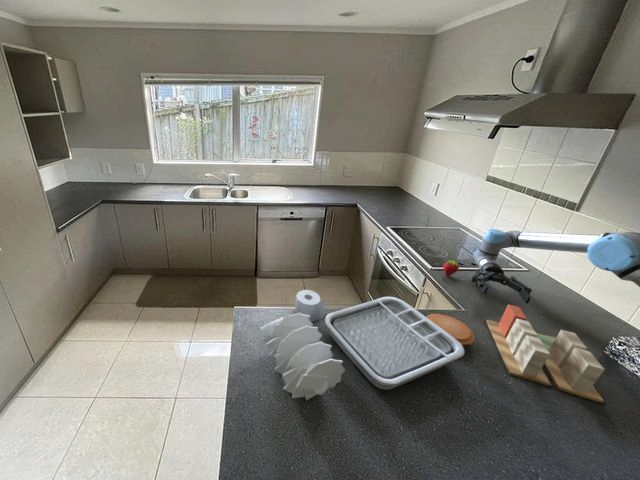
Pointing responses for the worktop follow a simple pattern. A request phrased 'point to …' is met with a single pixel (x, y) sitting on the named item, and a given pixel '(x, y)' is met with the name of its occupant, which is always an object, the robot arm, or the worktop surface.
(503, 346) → the wooden base with cubes
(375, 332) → the dish rack
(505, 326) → the red rectangular block
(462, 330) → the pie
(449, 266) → the strawberry
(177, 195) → the worktop surface
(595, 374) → the cubes on wooden plank
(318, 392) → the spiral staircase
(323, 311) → the toilet tissue
